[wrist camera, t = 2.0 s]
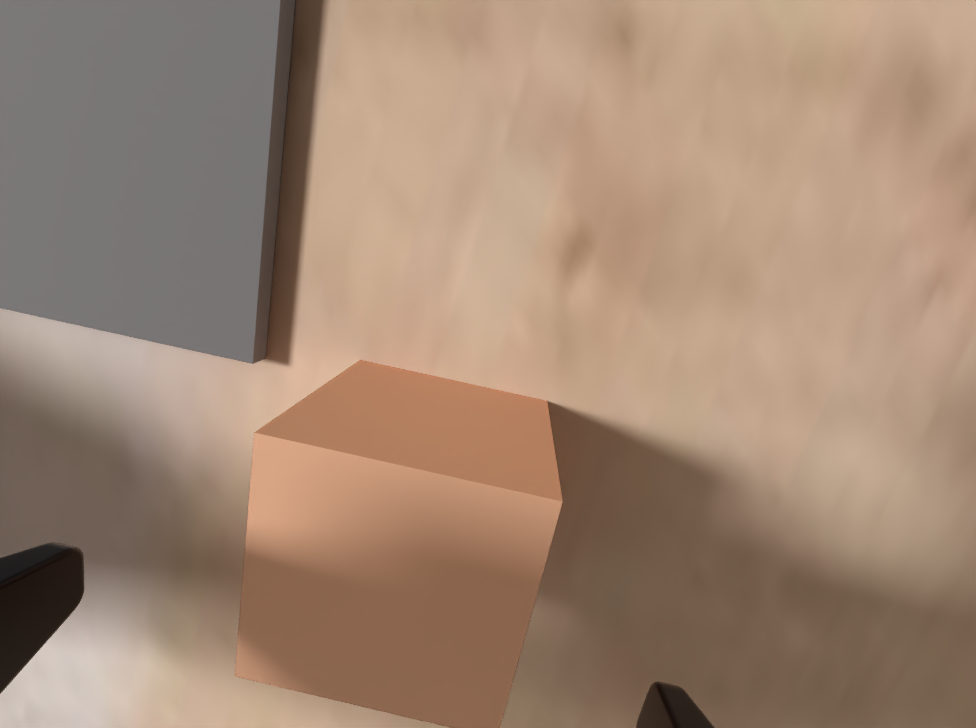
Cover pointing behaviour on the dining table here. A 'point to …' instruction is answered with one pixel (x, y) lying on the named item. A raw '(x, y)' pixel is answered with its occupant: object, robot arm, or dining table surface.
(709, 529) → the dining table surface
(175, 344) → the charcoal mat
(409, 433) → the peach block
